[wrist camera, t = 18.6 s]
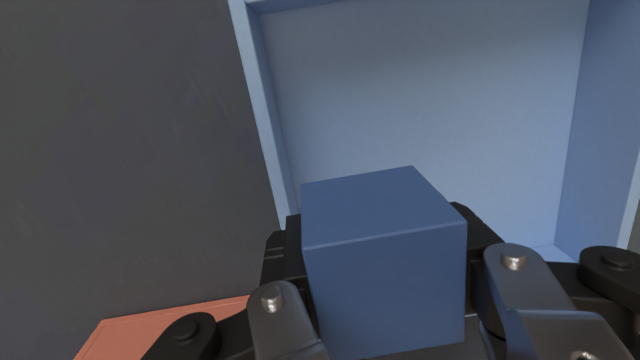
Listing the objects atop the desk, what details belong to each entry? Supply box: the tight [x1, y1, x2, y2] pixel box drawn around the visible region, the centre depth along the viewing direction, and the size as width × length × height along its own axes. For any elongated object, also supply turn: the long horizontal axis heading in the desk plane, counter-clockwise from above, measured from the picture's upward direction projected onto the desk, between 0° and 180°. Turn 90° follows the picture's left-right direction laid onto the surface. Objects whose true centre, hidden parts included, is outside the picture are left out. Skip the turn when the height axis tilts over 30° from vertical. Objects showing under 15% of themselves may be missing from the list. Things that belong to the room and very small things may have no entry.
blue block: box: [300, 165, 467, 360], centre depth 10 cm, size 4×4×4 cm
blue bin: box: [227, 0, 640, 341], centre depth 17 cm, size 17×17×5 cm
